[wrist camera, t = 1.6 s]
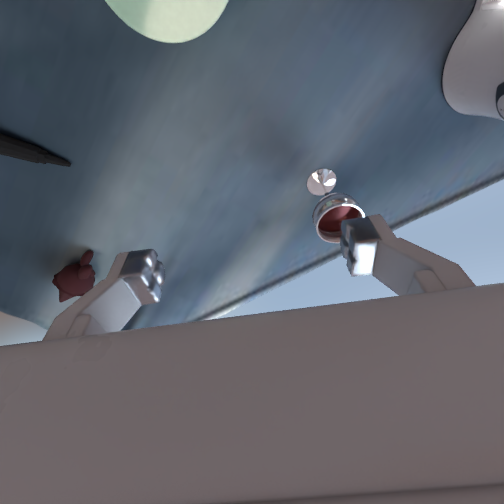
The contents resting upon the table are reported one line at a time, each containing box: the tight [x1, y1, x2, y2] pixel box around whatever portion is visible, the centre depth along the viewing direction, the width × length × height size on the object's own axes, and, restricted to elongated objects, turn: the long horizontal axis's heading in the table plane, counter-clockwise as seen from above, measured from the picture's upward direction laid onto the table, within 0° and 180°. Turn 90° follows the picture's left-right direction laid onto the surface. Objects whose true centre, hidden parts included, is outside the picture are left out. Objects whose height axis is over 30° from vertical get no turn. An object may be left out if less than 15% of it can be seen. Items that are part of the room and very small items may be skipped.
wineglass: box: [307, 169, 365, 243], centre depth 43 cm, size 7×7×12 cm
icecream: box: [52, 250, 95, 302], centre depth 57 cm, size 7×7×15 cm
